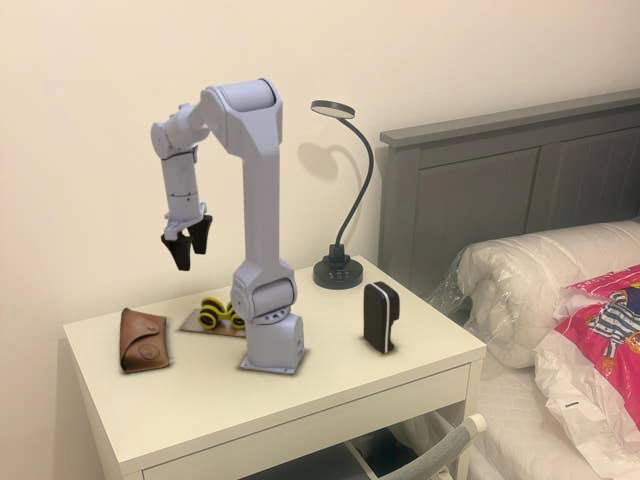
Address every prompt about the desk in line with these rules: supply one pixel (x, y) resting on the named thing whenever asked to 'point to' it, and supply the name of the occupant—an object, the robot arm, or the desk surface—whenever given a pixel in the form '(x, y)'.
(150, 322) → the sunglasses case
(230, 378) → the desk surface
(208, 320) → the opera glasses
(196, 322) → the copper plate
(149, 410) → the desk surface
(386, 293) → the battery charger
